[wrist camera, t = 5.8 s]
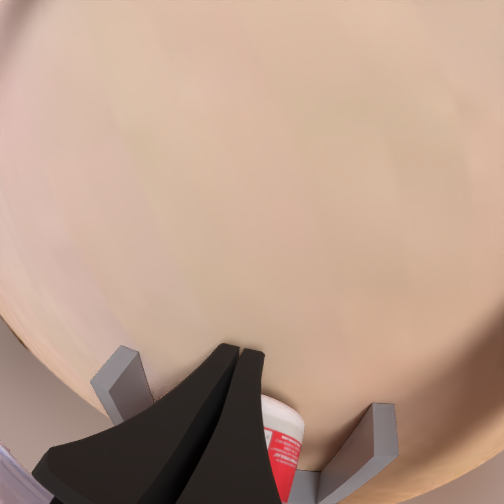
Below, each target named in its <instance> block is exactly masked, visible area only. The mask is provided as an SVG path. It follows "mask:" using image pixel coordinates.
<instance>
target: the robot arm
mask: <svg viewBox="0 0 504 504" xmlns="http://www.w3.org/2000/svg"><path fill="white" fill-rule="evenodd" d="M264 357H265V354H264V353H263V352H261V351H256V350H251V349H247V348H244V350H243V352H242V354H241V356H240V358H239V347H238V346H233V345H229V344H225V343H222V344H220V345H219V346H218V347H217V348H216V349H215V350H214V352H213V353H212V354H211V355H210V356H209V357H208V358H207V359H206V360H205V361H204V362H203V363H202V364H201V365H200V366H199V367H198V368H197V369H196V370H195V371H194V372H193V373H191V374H190V375H189V376H188V377H187V378H186V379H185V380H184V381H183V382H181V383H180V384H179V385H178V386H177V387H175V388H174V389H173V390H172V391H170V392H169V393H168V394H166V395H165V396H164V397H163V398H161V399H160V400H158V401H157V402H155V403H154V404H153V405H151V406H150V407H148V408H146V409H145V410H143V411H142V412H140V413H138V414H137V415H135V416H133V417H131V418H129V419H128V420H126V421H124V422H122V423H120V424H118V425H116V426H114V427H112V428H110V429H107V430H105V431H102V432H100V433H97V434H95V435H92V436H89V437H87V438H84V439H81V440H78V441H74V442H70V443H67V444H63V445H59V446H54V447H51V448H50V449H49V450H48V451H47V452H46V453H45V454H44V455H43V457H42V459H41V460H40V461H39V463H38V464H37V466H36V467H35V468H34V470H33V471H32V473H30V472H29V471H28V470H27V469H26V468H25V467H24V466H23V465H22V464H21V463H20V462H19V461H18V460H17V459H16V458H15V457H14V456H13V455H12V454H11V453H10V450H9V449H8V448H7V447H6V446H5V445H4V444H3V442H1V440H0V504H282V502H281V499H280V496H279V492H278V489H277V486H276V482H275V479H274V475H273V472H272V468H271V463H270V459H269V454H268V449H267V444H266V438H265V432H264V424H263V416H262V402H261V377H262V370H263V364H264Z"/></svg>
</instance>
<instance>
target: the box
mask: <svg viewBox="0 0 504 504" xmlns="http://www.w3.org/2000/svg"><path fill="white" fill-rule="evenodd" d="M90 383H91V385H92V387H93V389H94V390H95V392H96V394H97V396H98V398H99V400H100V401H101V403H102V405H103V407H104V409H105V410H106V412H107V414H108V415H109V417H110V419H111V420H112V422H113V424H114V425H115V426H116V425H118V424H120V423H122V422H124V421H126V420H128V419H129V418H131V417H133V416H135V415H137V414H138V413H140V412H142V411H143V410H145V409H146V408H148V407H150V406H151V405H153V404H154V401H153V398H152V395H151V392H150V389H149V386H148V383H147V380H146V377H145V374H144V370H143V367H142V363H141V360H140V356H139V353H138V352H136V351H134V350H131V349H129V348H126V347H123V346H120V347H119V348H118V349H117V350H116V351H115V353H114V354H113V355H112V356H111V357H110V358H109V360H108V361H107V362H106V363H105V364H104V365H103V367H102V368H101V369H100V370H99V371H98V373H97V374H96V375H95V376H94V377H93V379H92V380H91V381H90ZM398 456H399V451H398V436H397V425H396V415H395V406H394V404H381V403H372V404H371V406H370V408H369V409H368V411H367V412H366V414H365V415H364V417H363V418H362V420H361V421H360V422H359V424H358V425H357V427H356V428H355V429H354V431H353V432H352V434H351V435H350V436H349V438H348V439H347V440H346V442H345V443H344V444H343V446H342V447H341V448H340V449H339V451H338V452H337V453H336V455H335V456H334V457H333V458H332V459H331V461H330V462H329V463H328V464H327V465H326V467H325V468H324V469H323V470H322V471H321V472H311V471H303V470H296V472H295V476H294V480H293V484H292V487H291V491H290V495H289V498H288V502H287V504H336V503H338V502H339V501H341V500H342V499H344V498H345V497H347V496H348V495H350V494H351V493H353V492H354V491H355V490H357V489H358V488H360V487H361V486H362V485H364V484H365V483H366V482H368V481H369V480H370V479H371V478H373V477H374V476H375V475H376V474H378V473H379V472H380V471H381V470H383V469H384V468H385V467H386V466H387V465H388V464H390V463H391V462H392V461H393V460H394V459H395V458H396V457H398Z"/></svg>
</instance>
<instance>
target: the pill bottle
mask: <svg viewBox="0 0 504 504" xmlns="http://www.w3.org/2000/svg"><path fill="white" fill-rule="evenodd" d="M261 402H262V416H263V424H264V432H265V438H266V444H267V449H268V454H269V459H270V463H271V468H272V472H273V475H274V479H275V482H276V486H277V489H278V492H279V496H280V499H281V502H282V504H287V502H288V498H289V495H290V491H291V487H292V484H293V480H294V476H295V472H296V467H297V463H298V459H299V454H300V450H301V445H302V440H303V434H304V427H305V425H304V421H303V419H302V417H301V416H300V414H299V413H298V412H296V411H295V410H294V409H293V408H291V407H289V406H288V405H286V404H284V403H282V402H280V401H278V400H276V399H273V398H271V397H268V396H266V395H263V394H261Z"/></svg>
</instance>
